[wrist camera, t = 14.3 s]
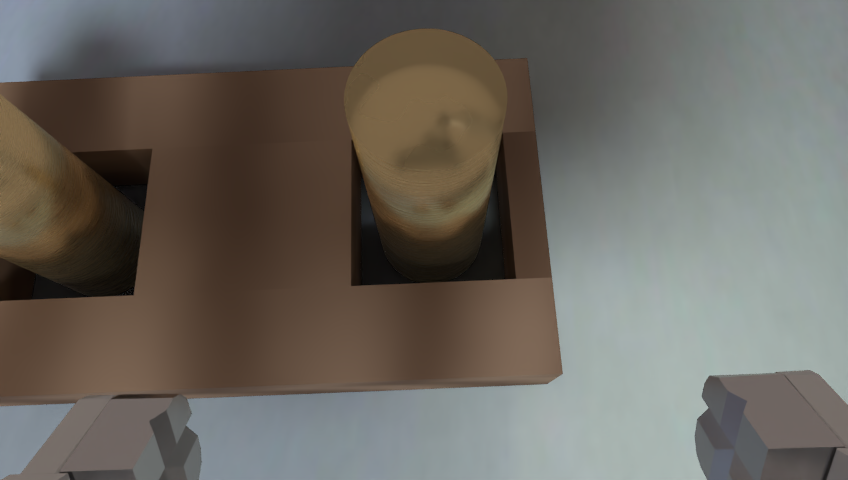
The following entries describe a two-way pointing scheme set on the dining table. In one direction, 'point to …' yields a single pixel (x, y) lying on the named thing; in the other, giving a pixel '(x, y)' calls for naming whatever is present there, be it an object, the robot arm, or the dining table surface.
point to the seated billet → (63, 213)
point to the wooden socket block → (267, 252)
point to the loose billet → (427, 146)
